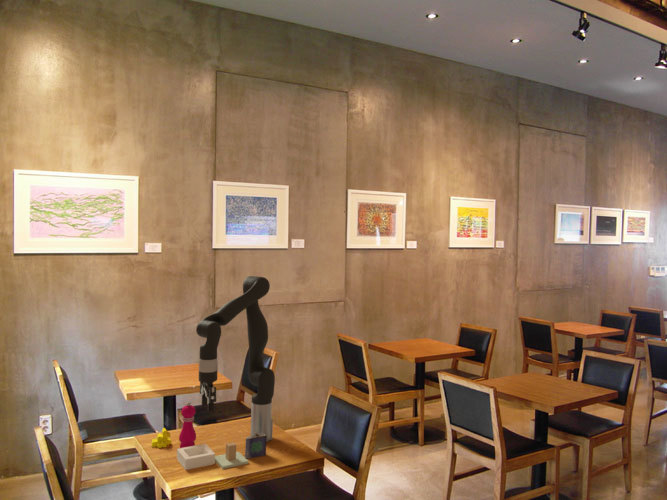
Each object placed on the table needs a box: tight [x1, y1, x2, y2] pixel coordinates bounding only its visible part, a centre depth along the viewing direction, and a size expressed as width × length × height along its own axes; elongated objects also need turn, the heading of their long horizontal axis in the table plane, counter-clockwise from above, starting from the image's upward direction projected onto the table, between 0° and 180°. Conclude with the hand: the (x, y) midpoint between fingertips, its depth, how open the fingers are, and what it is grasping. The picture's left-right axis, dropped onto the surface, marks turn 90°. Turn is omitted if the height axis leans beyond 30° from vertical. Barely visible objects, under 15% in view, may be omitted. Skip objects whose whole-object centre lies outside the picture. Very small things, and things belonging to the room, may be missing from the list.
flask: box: [244, 431, 267, 460], centre depth 217 cm, size 9×3×11 cm, turn 121°
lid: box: [215, 441, 249, 470], centre depth 211 cm, size 11×11×7 cm
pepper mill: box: [178, 401, 197, 448], centre depth 224 cm, size 7×7×20 cm
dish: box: [176, 443, 216, 471], centre depth 209 cm, size 12×12×4 cm
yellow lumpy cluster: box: [151, 427, 172, 449], centre depth 226 cm, size 6×8×8 cm
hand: (207, 408), depth 212 cm, fingers open, 8 cm apart
